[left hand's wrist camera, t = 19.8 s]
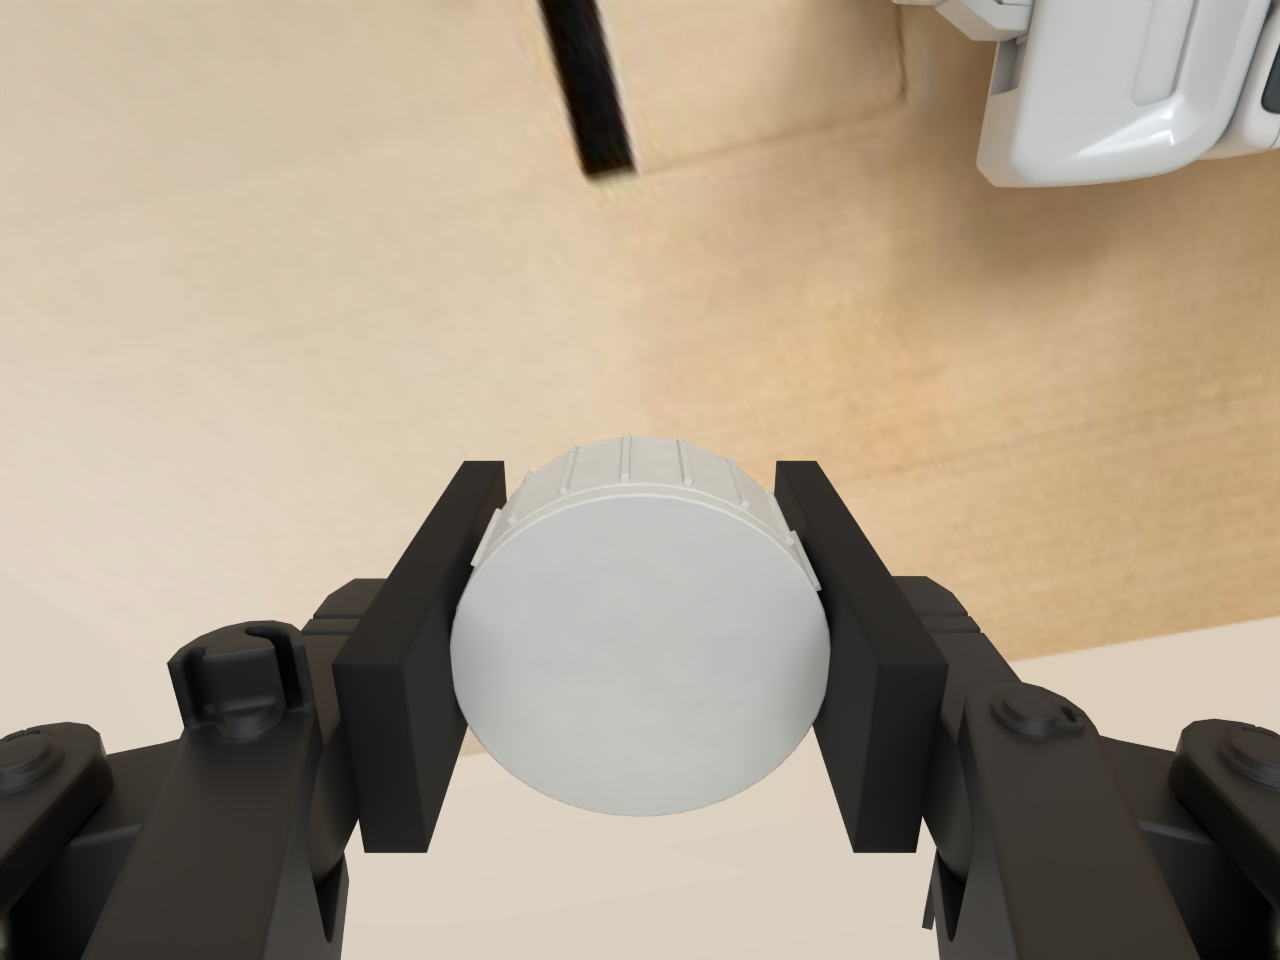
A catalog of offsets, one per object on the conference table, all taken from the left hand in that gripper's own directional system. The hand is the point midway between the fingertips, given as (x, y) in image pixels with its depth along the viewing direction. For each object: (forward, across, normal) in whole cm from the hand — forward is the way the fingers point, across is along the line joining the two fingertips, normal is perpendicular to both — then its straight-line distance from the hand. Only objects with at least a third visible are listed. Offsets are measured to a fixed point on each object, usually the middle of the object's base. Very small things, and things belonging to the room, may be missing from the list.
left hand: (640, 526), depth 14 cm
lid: (-4, 0, 0) cm, 4 cm away
